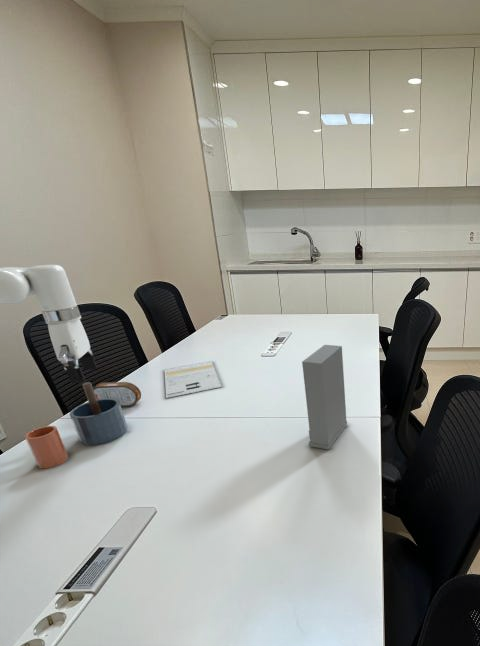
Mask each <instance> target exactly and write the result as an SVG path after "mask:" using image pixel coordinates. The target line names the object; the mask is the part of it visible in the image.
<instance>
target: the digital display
mask: <svg viewBox="0 0 480 646" xmlns="http://www.w3.org/2000/svg"><path fill="white" fill-rule="evenodd" d="M164 383H165V385H164V386H165V398H166V399H169V398H175V397H179V396H183V395H188V394H193V393H198V392H205V391H209V390H214V389H218V388H222V385H221V382H220V380H219V377H218V374H217V372H216V369H215V367H214V364H213V361H207V362H202V363H197V364H191V365H185V366H178V367H173V368H167V369H164Z"/></svg>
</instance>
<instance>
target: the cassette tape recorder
mask: <svg viewBox="0 0 480 646" xmlns="http://www.w3.org/2000/svg"><path fill="white" fill-rule="evenodd" d="M301 363H302V364H301V365H302V374H303V382H304V383H303V384H304V392H305V401H306V409H307V411H306V412H307V420H308V428H309V430H308V437H309V442H308V447H311V448H317V449H324V450H327V451H328V450H330V449H331V448H332V446H333V444H334V443H335V442H336V440H337V439H338V438H339V437H340V435H341V434H342V433H343V432H344V429H345V428H346V426H348V421H347V407H346V406H347V405H346V392H345V391H346V390H345V389H346V388H345V375H344V374H345V373H344V360H343V346H342V345H332V344H323V345H322V346H321V347H320V348H318V349H317V350H315V351H314V352H313V353H312V354H310V355H309V356H308V357H306V358H304V360H303V361H302V362H301Z"/></svg>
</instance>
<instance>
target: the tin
mask: <svg viewBox="0 0 480 646" xmlns="http://www.w3.org/2000/svg"><path fill="white" fill-rule="evenodd" d="M93 390H94V393H95V396H96V399H97V400H98V399H106V398H112V399H117V400H118V401H119V402H120V405H121V408H122V407H132V406H135V405H136V404H137V403H138V402H139V401H140V400H141V399H142V392H141V390H140V388H139V387H138V386H137V385H136V384H134V383H132V382H129V381H118V382H117V381H114V382H113V381H112V382H100V383H98V384H96V385H95V386H94V387H93Z"/></svg>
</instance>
